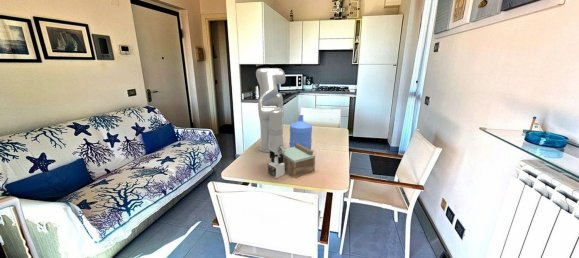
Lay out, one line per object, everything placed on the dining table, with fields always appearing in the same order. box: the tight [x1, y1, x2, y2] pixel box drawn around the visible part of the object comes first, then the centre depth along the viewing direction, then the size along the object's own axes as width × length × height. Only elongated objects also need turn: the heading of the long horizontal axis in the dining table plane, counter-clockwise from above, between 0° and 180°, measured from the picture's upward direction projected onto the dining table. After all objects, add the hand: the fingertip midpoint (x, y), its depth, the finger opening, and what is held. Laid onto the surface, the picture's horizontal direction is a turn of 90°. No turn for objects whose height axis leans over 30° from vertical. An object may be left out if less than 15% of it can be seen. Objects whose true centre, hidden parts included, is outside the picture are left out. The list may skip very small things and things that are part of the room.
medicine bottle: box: [267, 154, 286, 179], centre depth 139 cm, size 7×7×12 cm
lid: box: [280, 143, 316, 163], centre depth 145 cm, size 18×15×4 cm
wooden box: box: [283, 156, 316, 179], centre depth 146 cm, size 18×15×9 cm
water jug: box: [289, 114, 313, 150], centre depth 169 cm, size 16×16×28 cm
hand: (276, 160), depth 137 cm, fingers open, 9 cm apart
